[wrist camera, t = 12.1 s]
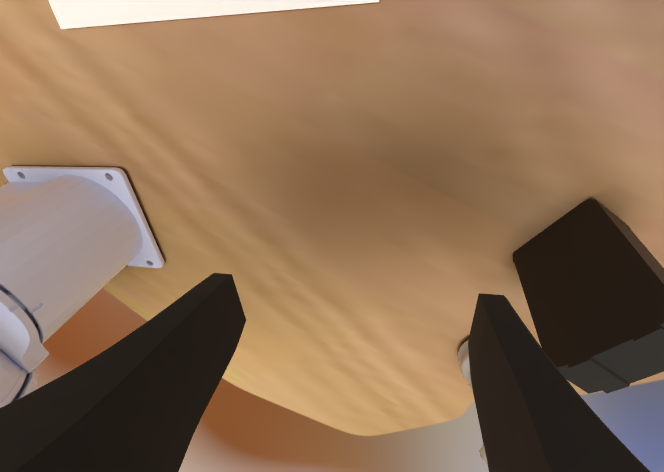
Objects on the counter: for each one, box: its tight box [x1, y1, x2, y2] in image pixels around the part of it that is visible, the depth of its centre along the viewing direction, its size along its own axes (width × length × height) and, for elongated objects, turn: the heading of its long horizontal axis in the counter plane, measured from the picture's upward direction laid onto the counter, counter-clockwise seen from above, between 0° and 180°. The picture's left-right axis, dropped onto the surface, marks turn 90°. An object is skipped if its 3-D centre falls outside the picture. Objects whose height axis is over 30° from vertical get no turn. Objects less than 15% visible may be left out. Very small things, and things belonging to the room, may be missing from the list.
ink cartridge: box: [513, 200, 664, 393], centre depth 16 cm, size 5×2×8 cm, turn 147°
